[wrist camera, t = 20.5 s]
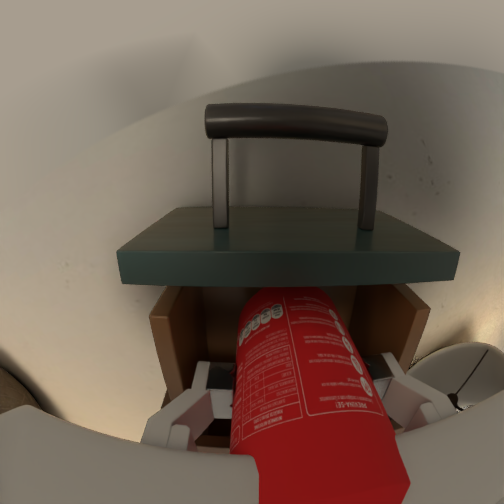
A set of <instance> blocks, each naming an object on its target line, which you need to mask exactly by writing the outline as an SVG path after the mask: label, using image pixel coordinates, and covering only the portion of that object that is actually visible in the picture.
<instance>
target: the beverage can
mask: <svg viewBox="0 0 504 504" xmlns="http://www.w3.org/2000/svg"><path fill="white" fill-rule="evenodd" d="M234 382H235V388H234V399H233V407H232V422H231V438H230V454H236V455H251V456H252V457H253V458H254V460H255V463H256V467H257V470H258V473H259V504H402V502H403V499H404V497H405V495H406V493H407V491H408V489H409V487H410V484H411V482H410V479H409V476H408V474H407V471H406V468H405V466H404V463H403V461H402V458H401V456H400V453H399V450H398V447H397V443H396V440H395V435H396V433H395V431H394V429H393V426H392V424H391V422H390V419H389V417H388V415H387V413H386V410H385V408H384V406H383V403H382V401H381V399H380V397H379V395H378V392H377V390H376V388H375V386H374V384H373V382H372V379H371V377H370V375H369V373H368V371H367V369H366V367H365V365H364V363H363V361H362V358H361V356H360V354H359V352H358V350H357V348H356V346H355V344H354V342H353V340H352V338H351V336H350V334H349V332H348V330H347V328H346V326H345V324H344V322H343V320H342V318H341V316H340V314H339V313H338V311H337V309H336V307H335V305H334V303H333V301H332V300H331V298H330V297H329V296H328V295H327V294H326V293H325V292H324V291H322V290H321V289H319V288H318V287H262V288H261V289H260V290H259V291H258V292H257V293H256V294H255V295H254V296H253V297H252V298H251V299H250V300H249V301H248V302H247V303H246V305H245V306H244V308H243V310H242V312H241V314H240V317H239V322H238V335H237V349H236V373H235V380H234Z"/></svg>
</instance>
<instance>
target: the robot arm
mask: <svg viewBox="0 0 504 504" xmlns="http://www.w3.org/2000/svg"><path fill="white" fill-rule="evenodd" d="M361 358H362V361H363V363H364V365H365V367H366V369H367V371H368V373H369V375H370V377H371V379H372V382H373V384H374V386H375V388H376V390H377V392H378V395H379V397H380V399H381V401H382V403H383V406H384V408H385V410H386V413H387V415H389V416H390V417H391V418H392V419H393V420H395V421H396V422H397V423H398V424H400V425H401V426H402V427H403V428H405V430H404V432H403V433H401V434H398V435H395V440H396V443H397V447H398V450H399V453H400V456H401V458H402V461H403V463H404V466H405V468H406V471H407V474H408V476H409V479H410V482H411V484H410V487H409V489H408V491H407V493H406V495H405V497H404V499H403V502H402V504H504V389H503V390H502V391H500V392H498V393H496V394H495V395H493V396H491V397H489V398H487V399H485V400H483V401H482V402H480V403H478V404H476V405H474V406H471V407H469V408H467V409H465V410H463V411H461V412H457V411H456V409H455V407H454V406H453V404H452V403H451V401H450V399H449V398H448V396H447V395H445V394H443V393H442V392H440V391H438V390H436V389H434V388H432V387H430V386H428V385H426V384H425V383H423V382H421V381H419V380H417V379H415V378H413V377H412V376H410V375H405V374H404V372H403V370H402V369H401V367H400V365H399V364H398V362H397V361H396V359H395V357H394V356H393V354H392V353H391V352H387V353H381V354H376V355H369V356H361ZM235 373H236V363H226V362H206V361H199V362H198V363H197V367H196V371H195V375H194V379H193V384H192V388H191V389H187V390H185V391H184V392H183V393H182V394H180V395H179V396H178V397H177V398H175V399H174V400H173V401H171V402H170V403H169V404H168V405H166V406H165V407H164V408H162V409H161V410H160V411H158V412H157V413H156V414H154V415H153V416H152V417H150V418H149V419H148V421H147V424H146V427H145V430H144V433H143V436H142V439H141V442H140V443H138V442H134V441H130V440H125V439H121V438H118V437H114V436H110V435H107V434H103V433H100V432H97V431H94V430H90V429H87V428H84V427H82V426H79V425H76V424H73V423H70V422H68V421H65V420H63V419H60V418H58V417H55V416H53V415H50V414H48V413H46V412H44V411H42V410H40V409H37V408H35V407H33V406H30V405H23V406H19V407H17V408H14V409H12V410H9V411H7V412H5V413H2V414H0V504H259V473H258V470H257V467H256V463H255V460H254V458H253V457H252V456H251V455H236V454H216V453H203V452H198V451H197V448H196V445H195V442H194V441H195V440H196V439H197V438H198V437H199V436H200V435H201V434H202V433H203V431H204V430H205V429H206V428H207V427H208V426H209V425H210V424H211V422H212V421H213V420H214V418H222V419H232V407H233V399H234V388H235V382H234V380H235Z"/></svg>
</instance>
